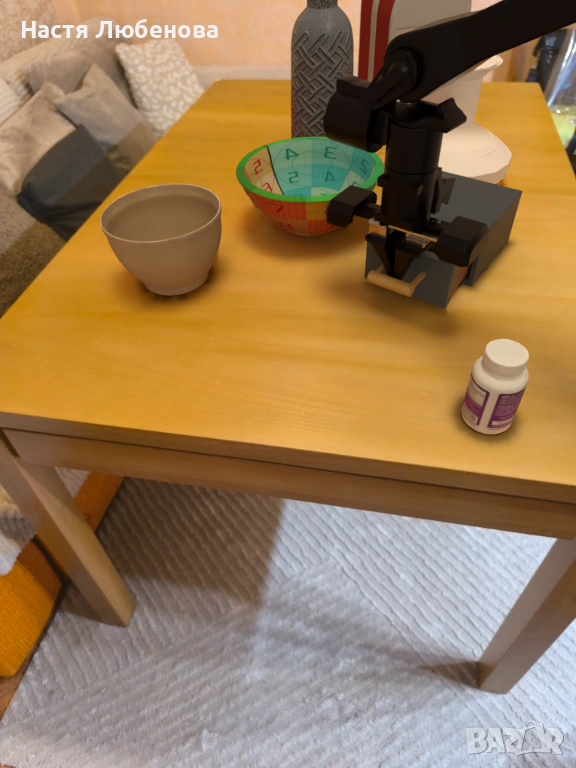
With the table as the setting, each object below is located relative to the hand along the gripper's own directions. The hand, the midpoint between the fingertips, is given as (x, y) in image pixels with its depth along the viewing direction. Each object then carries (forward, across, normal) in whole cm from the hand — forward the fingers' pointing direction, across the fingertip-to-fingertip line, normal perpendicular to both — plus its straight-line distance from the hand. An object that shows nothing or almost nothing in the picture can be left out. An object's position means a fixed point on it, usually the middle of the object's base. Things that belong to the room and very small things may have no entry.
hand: (396, 282), depth 68 cm
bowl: (+4, +22, -12) cm, 25 cm away
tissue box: (+4, +32, -62) cm, 70 cm away
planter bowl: (+4, +30, +11) cm, 32 cm away
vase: (+4, +36, -36) cm, 51 cm away
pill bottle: (+4, -18, +11) cm, 21 cm away
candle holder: (+4, +10, -38) cm, 39 cm away
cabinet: (+4, 0, -17) cm, 17 cm away
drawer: (+3, 0, -6) cm, 7 cm away
